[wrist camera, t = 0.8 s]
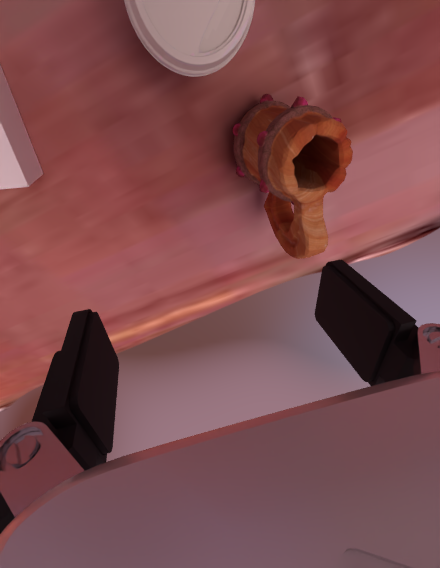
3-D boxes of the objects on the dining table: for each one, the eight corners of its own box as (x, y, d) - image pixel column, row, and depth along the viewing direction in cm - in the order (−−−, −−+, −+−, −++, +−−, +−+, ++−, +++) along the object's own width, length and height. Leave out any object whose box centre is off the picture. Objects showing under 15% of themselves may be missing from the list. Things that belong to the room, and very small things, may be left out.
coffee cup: (159, 96, 28) (168, 99, 19) (106, -15, 23) (82, -88, 14) (232, 55, 28) (280, 37, 18) (195, -68, 23) (234, -182, 13)
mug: (221, 99, 30) (275, 106, 18) (291, 87, 31) (386, 86, 19) (234, 223, 39) (276, 283, 27) (288, 211, 40) (352, 264, 28)
